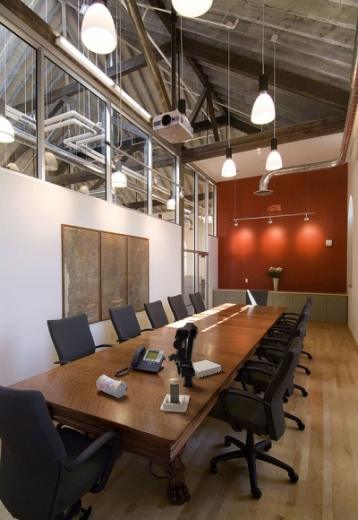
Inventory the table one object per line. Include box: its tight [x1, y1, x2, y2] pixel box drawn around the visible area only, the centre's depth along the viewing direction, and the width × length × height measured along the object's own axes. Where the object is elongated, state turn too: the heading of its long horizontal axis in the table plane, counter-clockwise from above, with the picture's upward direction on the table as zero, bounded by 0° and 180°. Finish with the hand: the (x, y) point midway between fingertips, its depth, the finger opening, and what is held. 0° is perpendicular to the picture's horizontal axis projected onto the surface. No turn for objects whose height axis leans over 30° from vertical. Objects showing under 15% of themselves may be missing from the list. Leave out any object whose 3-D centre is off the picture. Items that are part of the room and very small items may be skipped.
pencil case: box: [95, 374, 128, 399], centre depth 170 cm, size 21×9×10 cm, turn 54°
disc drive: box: [192, 358, 223, 379], centre depth 205 cm, size 18×22×5 cm
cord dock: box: [159, 394, 191, 413], centre depth 155 cm, size 17×14×4 cm
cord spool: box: [168, 377, 181, 404], centre depth 152 cm, size 6×6×13 cm
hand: (180, 376), depth 165 cm, fingers open, 9 cm apart
